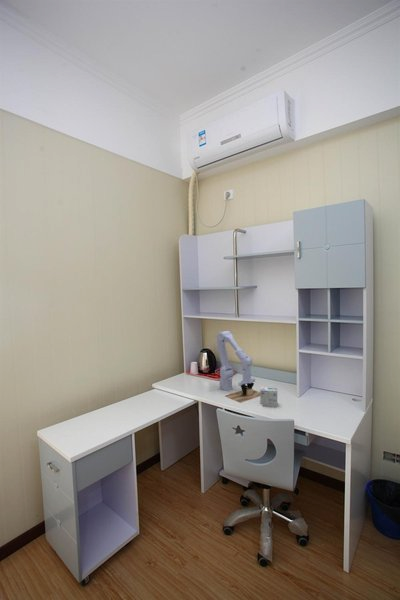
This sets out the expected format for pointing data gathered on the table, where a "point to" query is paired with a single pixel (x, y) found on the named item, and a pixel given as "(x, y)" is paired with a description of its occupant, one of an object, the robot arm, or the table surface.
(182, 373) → the table surface
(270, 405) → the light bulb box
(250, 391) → the block
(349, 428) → the table surface
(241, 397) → the board
